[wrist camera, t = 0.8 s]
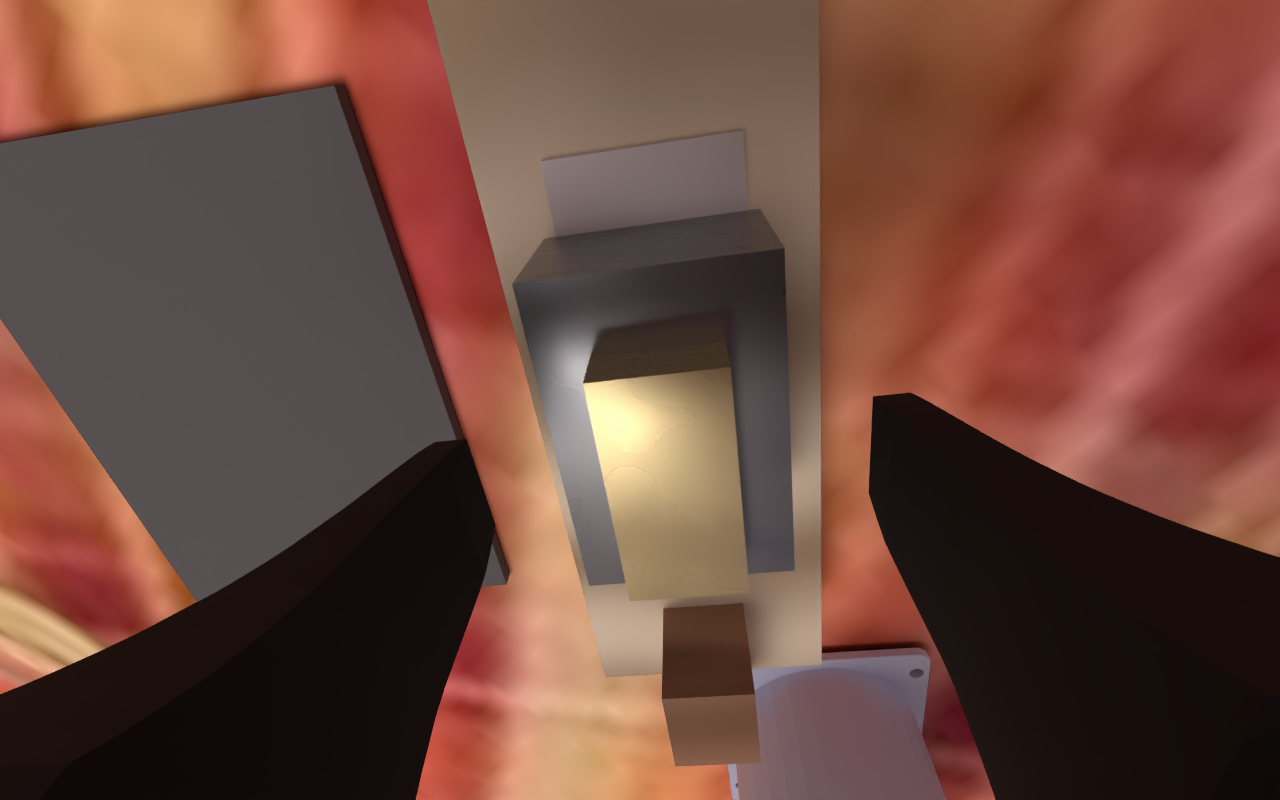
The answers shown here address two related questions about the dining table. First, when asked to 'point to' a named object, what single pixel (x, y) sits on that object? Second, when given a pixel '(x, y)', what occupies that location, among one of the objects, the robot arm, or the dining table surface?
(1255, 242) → the dining table surface
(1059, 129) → the dining table surface
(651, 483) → the lever cap
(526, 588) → the dining table surface
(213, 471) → the rubber mat
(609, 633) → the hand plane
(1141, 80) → the dining table surface
